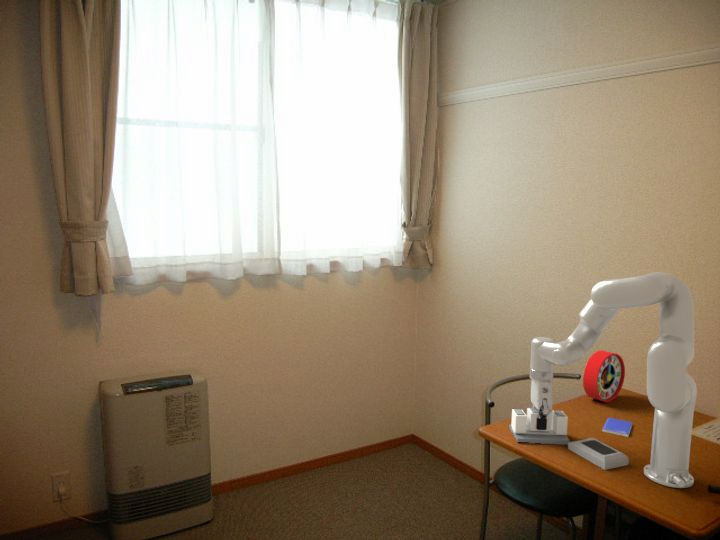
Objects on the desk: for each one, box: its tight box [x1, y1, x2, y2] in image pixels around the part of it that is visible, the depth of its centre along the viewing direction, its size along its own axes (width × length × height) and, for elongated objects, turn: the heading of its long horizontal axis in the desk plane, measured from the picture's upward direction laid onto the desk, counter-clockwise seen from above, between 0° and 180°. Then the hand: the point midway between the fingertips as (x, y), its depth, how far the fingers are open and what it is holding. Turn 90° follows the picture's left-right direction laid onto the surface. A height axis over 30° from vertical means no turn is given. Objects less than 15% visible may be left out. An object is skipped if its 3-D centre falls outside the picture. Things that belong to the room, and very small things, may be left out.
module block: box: [526, 407, 552, 431], centre depth 181 cm, size 5×7×6 cm
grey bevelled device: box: [567, 437, 630, 471], centre depth 167 cm, size 10×4×15 cm
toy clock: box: [582, 349, 626, 403], centre depth 217 cm, size 20×6×20 cm, turn 124°
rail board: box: [508, 408, 571, 446], centre depth 181 cm, size 12×17×8 cm
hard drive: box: [601, 417, 633, 438], centre depth 190 cm, size 2×8×12 cm
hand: (538, 425), depth 181 cm, fingers closed on module block, 5 cm apart
